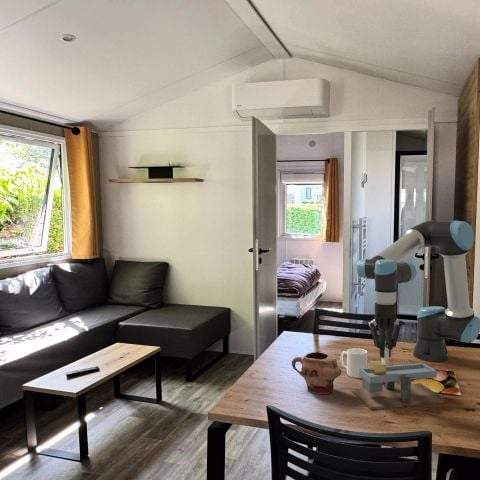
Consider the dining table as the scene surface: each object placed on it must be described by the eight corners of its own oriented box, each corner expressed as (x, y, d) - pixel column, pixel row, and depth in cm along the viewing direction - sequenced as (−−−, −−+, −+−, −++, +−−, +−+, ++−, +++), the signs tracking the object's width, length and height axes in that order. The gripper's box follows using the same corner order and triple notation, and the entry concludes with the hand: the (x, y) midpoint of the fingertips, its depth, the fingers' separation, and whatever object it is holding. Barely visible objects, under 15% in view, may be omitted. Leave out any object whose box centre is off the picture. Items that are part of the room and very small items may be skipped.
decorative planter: (286, 391, 184) (285, 356, 182) (296, 380, 195) (295, 347, 193) (337, 400, 175) (338, 362, 174) (345, 388, 186) (345, 353, 185)
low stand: (421, 385, 187) (421, 360, 187) (445, 402, 172) (446, 375, 171) (351, 391, 182) (351, 366, 181) (370, 409, 167) (370, 381, 166)
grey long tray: (422, 378, 184) (422, 362, 183) (436, 388, 174) (437, 371, 174) (359, 384, 179) (359, 368, 178) (370, 394, 170) (370, 377, 169)
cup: (361, 379, 194) (361, 355, 193) (335, 373, 202) (335, 349, 202) (370, 374, 200) (371, 350, 200) (345, 367, 208) (345, 345, 208)
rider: (380, 372, 177) (380, 360, 177) (386, 376, 173) (386, 364, 172) (369, 373, 176) (369, 361, 176) (374, 377, 172) (374, 365, 172)
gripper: (396, 299, 178) (396, 361, 180) (364, 301, 176) (364, 364, 177) (407, 303, 171) (406, 368, 172) (373, 305, 168) (373, 371, 170)
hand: (385, 365), depth 175 cm, fingers closed
